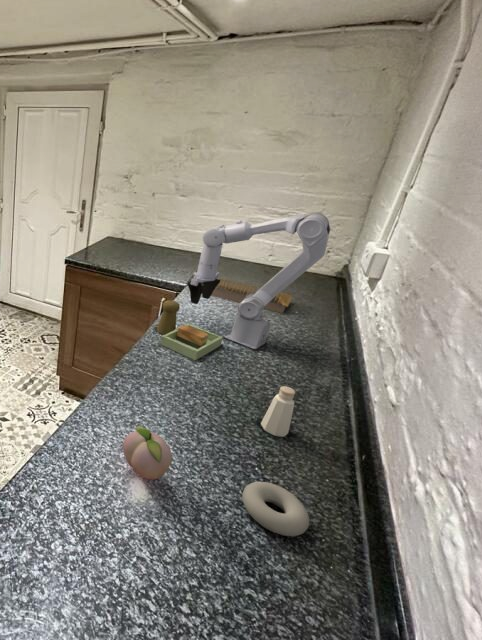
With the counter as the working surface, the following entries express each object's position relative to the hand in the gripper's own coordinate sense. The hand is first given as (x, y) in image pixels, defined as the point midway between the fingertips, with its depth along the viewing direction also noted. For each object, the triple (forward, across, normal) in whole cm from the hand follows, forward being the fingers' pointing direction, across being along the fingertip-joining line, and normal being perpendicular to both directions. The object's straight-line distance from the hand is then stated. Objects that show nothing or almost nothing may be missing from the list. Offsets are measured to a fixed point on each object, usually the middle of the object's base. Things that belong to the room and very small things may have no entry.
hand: (199, 300), depth 137 cm
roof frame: (+10, -41, -3) cm, 42 cm away
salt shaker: (+10, +36, +39) cm, 54 cm away
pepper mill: (+10, +13, -3) cm, 16 cm away
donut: (+10, +61, +48) cm, 78 cm away
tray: (+9, +15, +7) cm, 19 cm away
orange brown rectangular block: (+9, +15, +7) cm, 19 cm away
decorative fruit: (+10, +72, +29) cm, 78 cm away
